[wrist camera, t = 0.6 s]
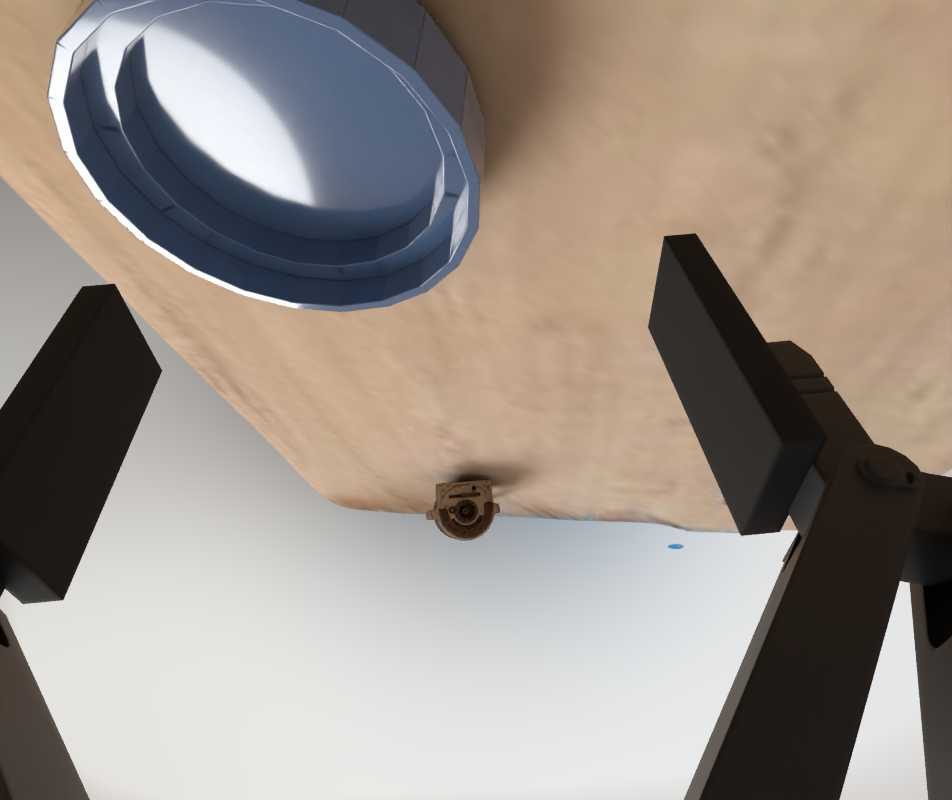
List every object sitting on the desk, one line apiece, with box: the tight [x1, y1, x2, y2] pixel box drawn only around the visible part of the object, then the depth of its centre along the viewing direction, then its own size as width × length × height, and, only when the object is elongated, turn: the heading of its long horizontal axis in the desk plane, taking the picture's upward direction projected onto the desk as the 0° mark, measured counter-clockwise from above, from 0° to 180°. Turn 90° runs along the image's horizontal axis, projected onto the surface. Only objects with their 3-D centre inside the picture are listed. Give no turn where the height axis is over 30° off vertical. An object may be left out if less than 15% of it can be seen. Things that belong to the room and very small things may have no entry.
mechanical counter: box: [426, 479, 500, 541], centre depth 74 cm, size 7×13×10 cm
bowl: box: [47, 0, 486, 312], centre depth 29 cm, size 18×18×4 cm
